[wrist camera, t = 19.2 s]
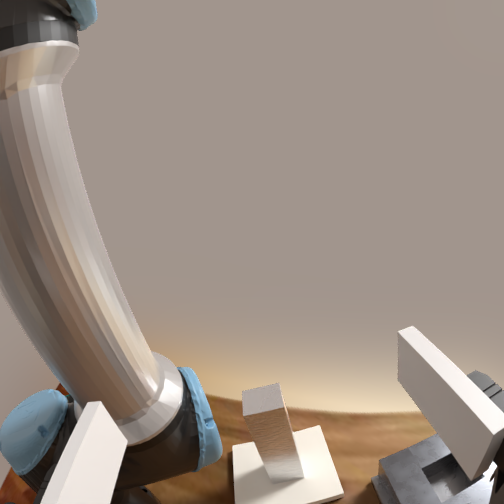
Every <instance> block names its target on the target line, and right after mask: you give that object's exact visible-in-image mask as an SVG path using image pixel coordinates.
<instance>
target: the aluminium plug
mask: <svg viewBox="0 0 504 504" xmlns="http://www.w3.org/2000/svg"><path fill="white" fill-rule="evenodd" d="M242 400H243V417H244V419H245V422H246V424H247V427H248V429H249V431H250V434H251V436H252V439H253V441H254V443H255V446H256V448H257V450H258V453H259V455H260V457H261V459H262V462H263V464H264V466H265V468H266V471H267V473H268V475H269V477H270V479H271V482H272V484H278V483H283V482H288V481H293V480H297V479H301V478H305V476H304V472H303V467H302V463H301V458H300V454H299V451H298V447H297V444H296V440H295V437H294V433H293V430H292V426H291V423H290V419H289V416H288V412H287V409H286V405H285V402H284V398H283V395H282V391H281V387H280V384H279V383H276V384H272V385H268V386H264V387H259V388H255V389H250V390H245V391H242Z"/></svg>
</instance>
